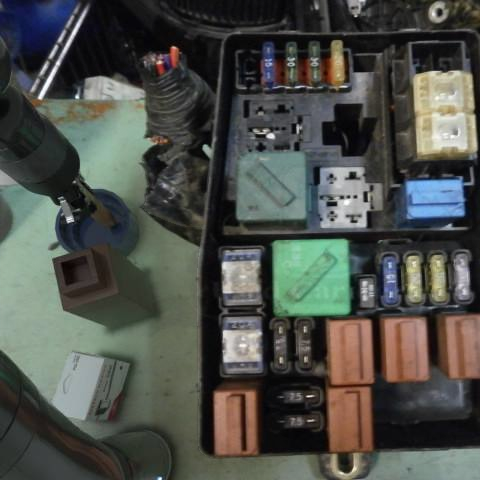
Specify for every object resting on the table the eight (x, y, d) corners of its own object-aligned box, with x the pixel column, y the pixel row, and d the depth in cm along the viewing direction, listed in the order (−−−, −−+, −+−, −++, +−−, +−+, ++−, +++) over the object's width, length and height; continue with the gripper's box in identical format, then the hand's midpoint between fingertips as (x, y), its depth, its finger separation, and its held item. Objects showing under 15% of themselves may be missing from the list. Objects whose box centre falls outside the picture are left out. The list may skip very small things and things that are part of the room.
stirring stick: (116, 225, 86) (82, 194, 73) (105, 228, 86) (69, 197, 73) (113, 215, 87) (80, 182, 73) (102, 218, 86) (66, 186, 73)
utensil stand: (155, 314, 85) (111, 288, 64) (111, 328, 84) (52, 306, 64) (144, 272, 86) (98, 235, 66) (101, 286, 86) (40, 252, 65)
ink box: (114, 420, 80) (84, 424, 69) (82, 413, 80) (47, 416, 69) (131, 362, 82) (105, 356, 71) (100, 355, 83) (69, 349, 71)
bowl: (146, 254, 87) (137, 244, 82) (77, 275, 86) (63, 267, 81) (130, 192, 90) (120, 179, 85) (63, 212, 89) (48, 200, 83)
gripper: (-13, 107, 62) (52, 168, 79) (8, 215, 59) (72, 254, 76) (53, 90, 63) (104, 153, 80) (77, 195, 60) (125, 238, 76)
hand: (88, 202), depth 78 cm, fingers closed on stirring stick, 2 cm apart
